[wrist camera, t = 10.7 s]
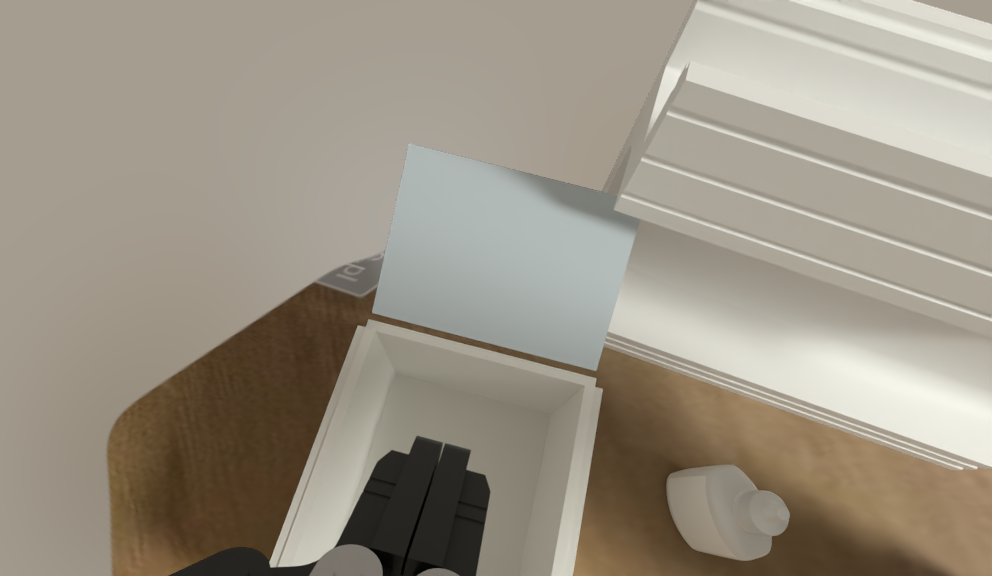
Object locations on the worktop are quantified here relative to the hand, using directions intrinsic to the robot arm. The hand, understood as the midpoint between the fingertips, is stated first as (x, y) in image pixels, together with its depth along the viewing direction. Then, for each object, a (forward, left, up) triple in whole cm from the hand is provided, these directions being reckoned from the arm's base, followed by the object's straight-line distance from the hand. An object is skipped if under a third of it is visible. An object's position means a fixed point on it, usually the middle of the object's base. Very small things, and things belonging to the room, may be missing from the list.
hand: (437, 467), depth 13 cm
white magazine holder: (-28, +4, -27) cm, 39 cm away
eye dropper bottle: (-15, +11, -27) cm, 33 cm away
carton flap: (-9, -9, -12) cm, 17 cm away
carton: (+1, +1, -27) cm, 27 cm away
